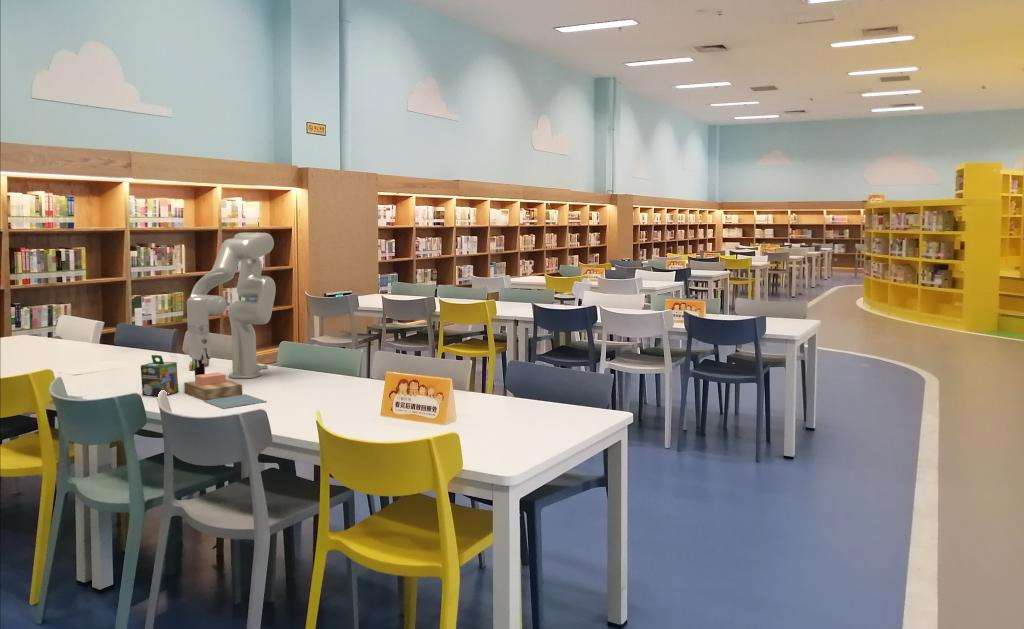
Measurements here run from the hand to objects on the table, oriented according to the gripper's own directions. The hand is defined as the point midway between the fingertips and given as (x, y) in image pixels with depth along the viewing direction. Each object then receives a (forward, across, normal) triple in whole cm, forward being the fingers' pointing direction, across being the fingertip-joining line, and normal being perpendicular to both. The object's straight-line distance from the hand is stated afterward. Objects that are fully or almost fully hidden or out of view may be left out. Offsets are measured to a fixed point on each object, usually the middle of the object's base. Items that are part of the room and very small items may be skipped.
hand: (199, 377), depth 303 cm
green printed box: (+5, +3, +14) cm, 15 cm away
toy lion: (+5, +46, -20) cm, 51 cm away
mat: (+5, -28, 0) cm, 29 cm away
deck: (+5, -11, 0) cm, 12 cm away
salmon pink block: (+1, -9, 0) cm, 9 cm away
